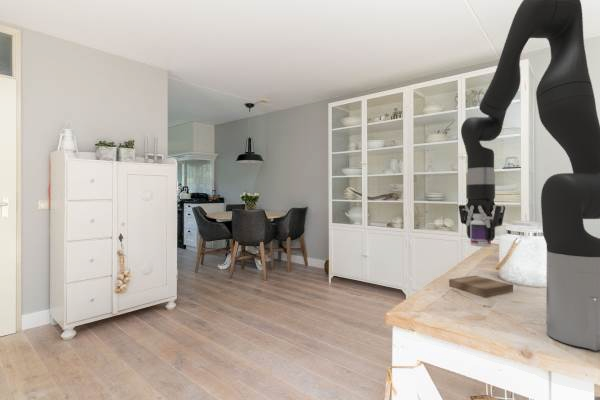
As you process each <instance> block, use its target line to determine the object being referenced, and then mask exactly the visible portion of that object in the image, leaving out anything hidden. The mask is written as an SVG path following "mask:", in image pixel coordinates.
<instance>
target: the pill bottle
mask: <svg viewBox="0 0 600 400" xmlns="http://www.w3.org/2000/svg"><path fill="white" fill-rule="evenodd" d="M487 217H489V216H487ZM473 218H474V220H473V221H471V223H470V238H469V239H470V241H469V242H470V246H473V247H480V248H481V247H482V248H487V247H491V246H492V241H487V240H486V228H487V226H486V223H485V221H484V220H483V218H482V216H481V214H473Z"/></svg>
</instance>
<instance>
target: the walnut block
mask: <svg viewBox="0 0 600 400" xmlns="http://www.w3.org/2000/svg"><path fill="white" fill-rule="evenodd" d="M448 279H449V278H448ZM448 283H449V284H448V286H449V287H450V288H453V289H457V290H460V291H463V292H465V293H466V292H467V293H469V294H471V295H474V296H479V297H480V298H484V299H487V298H491V297H497V296H500V295H505V294H510V293H514V284H512V283H507V282H504V281H499V280H495V279H491V278H487V277H483V276H479V275H472V276H464V277H463V276H462V277H457V278H450V279H449V281H448Z"/></svg>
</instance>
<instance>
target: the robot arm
mask: <svg viewBox="0 0 600 400" xmlns="http://www.w3.org/2000/svg"><path fill="white" fill-rule="evenodd" d="M583 19H584V18H583V9H582V3H581V0H522V1H521V3H520V5H519V6H518V8H517V10H516V12H515V14H514V17H513V19H512V22H511V25H510V27H509V30H508V33H507V36H506V39H505V42H504V44H503V48H502V51H501V55H500V56H499V61H498V63H497V67H496V68H495V72H494V74H493V76H492V79H491V81H490V84H489V86H488V88H486V91H485V93H484V95H483V97H482V99H481V101H480V103H479V110H480V111H481V113H482V114H484V115H487V116H486V117H485V116H484V117H483V116H480V117H479V116H475V117H474V116H472V117H471V116H470V117H468V118H466V119H465V120H464V121H463V123H462V125H461V128H460V135H461V139H462V141H463V145H464V148H465V152H466V156H467V171H466V199H467V203H466V204H460V205H458V212H459V218H460V223H461V224H462V225H465V226H466V235H467V237H468V239H470V223H471V221H473V220H474V218H473V214H481V216H482V218H483V220H484V221H485V223H486V226H487V228H486V240H487V241H491V242H492V241H494V239H495V238H496V228H497V227H502V225H503V221H504V215H505V212H506V206H505V205H498V204H496V202H495V199H496V173H495V152H494V150H493V149H491V148H488V147H485V146H483V145H482V143H481V142H490V141H494V140H495V139H497V138H498V137H499V136H500V135H501V133H502V130H503V125H504V121H505V117H506V113H507V110H508V109H509V107H510V105H511V104H512V102H513V101H514V98H515V97H516V95H517V93H518V91H519V88H520V85H521V68H520V67H521V66H520V65H521V64H520V63H521V56H522V53H523V50H524V48H525V46H526V44H527V43H528V42H529V40H530V39H546V40H547V41H548V44H549V47H550V57H551V58H550V62H549V64H548V65H547V67H546V70H545V71H544V73H543V74H542V77H541V79H540V81H539V82H538V85H537V87H536V91H535V97H536V106H537V111H538V116H539V119H540V122H541V124H542V125H543V127H544V128H545V130H546V131H547V132H548V134H550V136H551V137H552V138H553V139H554V140H555V141H556V142H557V143H558V144H559V146H560V147H561V148H562V150H564V152H565V153H566V155H567V158H568V159H569V163H570V165H571V170H572V172H567V173H561V172H560V173H556V174H553V175H551V176H549V177H548V178H547V179H546V180H545V182H544V184H543V186H542V189H541V195H540V207H541V208H540V209H541V210H540V211H541V227H542V235H543V239H544V241H545V243H546V290H545V291H546V292H545V293H546V298H545V299H546V303H545V305H546V311H545V312H546V321H545V324H546V334H547V336H549V337H551V338H552V339H554V340H556V341H559V342H561V343H564V344H567V345H570V346H575V347H580V348H584V349H589V350H592V351H595V352H596V351H600V238H599V237H597V236H594V235H592V234H591V233H590V232H588V231H587V229H585V226H584V220H600V121H599V117H598V112H597V103H596V98H595V92H594V87H593V84H592V80H591V77H590V73H589V66H588V60H587V55H586V50H585V49H586V48H585V47H586V46H585V41H584V37H585V36H584V20H583ZM493 212H494V213H493ZM487 216H488V217H487Z"/></svg>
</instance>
